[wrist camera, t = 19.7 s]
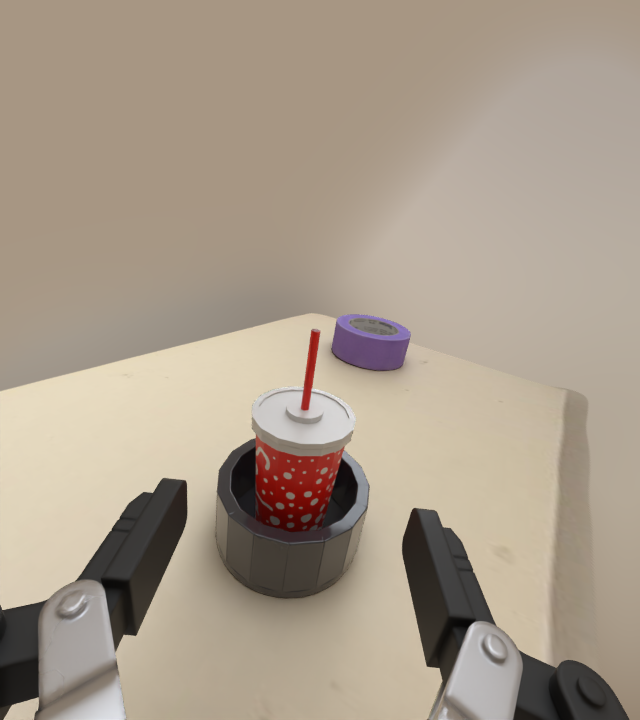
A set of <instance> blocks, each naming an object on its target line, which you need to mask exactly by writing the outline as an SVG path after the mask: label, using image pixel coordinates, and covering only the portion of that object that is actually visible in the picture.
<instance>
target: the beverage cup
mask: <svg viewBox="0 0 640 720" xmlns="http://www.w3.org/2000/svg"><path fill="white" fill-rule="evenodd" d="M319 337H320V330H318V329H312V330H311V337H310V345H309V352H308V359H307V367H306V374H305V381H304V387H284V388H278V389H273V390H271V391H268V392H266V393H264V394H262V395H260V396H259V397H258V398H257V400H256V401H255V402H254V403H253V405H252V429H253V430H254V432H255V433H256V502H255V519H256V520H257V521H258V522H260V523H261V524H264V525H268V526H271V527H275V528H278V529H282V530H286V531H289V532H296V531H311V530H320V529H322V526H323V522H324V518H325V515H326V511H327V508H328V504H329V501H330V497H331V493H332V490H333V486H334V483H335V479H336V476H337V472H338V468H339V465H340V461H341V458H342V454H343V451H344V447H345V445H346V444H348V443H349V442H350V441H351V437H352V434H353V430H354V426H355V422H356V417H355V415H354V413H353V411H352V408H351V407H350V406H349V405H347V404H346V403H345V402H344V401H343V400H342V399H340V398H338V397H336V396H334V395H332V394H330V393H328V392H325V391H322V390H317V389H313V388H312V385H313V378H314V371H315V364H316V357H317V351H318V344H319Z"/></svg>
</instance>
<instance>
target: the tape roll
mask: <svg viewBox="0 0 640 720" xmlns="http://www.w3.org/2000/svg"><path fill="white" fill-rule="evenodd" d="M410 336H411V334H410V331H408V329H406V328H405V327H403V326H402V325H399V324H397V323H395V322H392V321H389V320H386V319H383V318H379V317H374V316H368V315H357V314H351V315H343V316H340V317H339V318H338V319H337V322H336V327H335V333H334V338H333V344H332V351H333V353H334V354H335V355H336V356H337V357H338V358H340V359H341V360H343V361H345V362H347V363H350V364H352V365H355V366H358V367H362V368H366V369H372V370H393V369H397V368H399V367H401V366H402V365H403V362H404V359H405V355H406V351H407V348H408V344H409V340H410Z"/></svg>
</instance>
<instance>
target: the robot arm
mask: <svg viewBox="0 0 640 720" xmlns="http://www.w3.org/2000/svg"><path fill="white" fill-rule="evenodd" d="M186 520H187V483H186V481H185V480H177V479H168V478H163V479H162V480H161V481H160V483H159V484H158V486H157V487H156V489H155V491H154V492H153V493H147V492H143V493H142V494H140V495H139V496H138V497H137V498H135V499H134V500H133V501H131V502H130V503H129V504H128V506H127V507H126V509H125V510H124V512H123V513H122V515H121V516H120V519H119V520H118V521H117V522H116V523H115V525H114V526H113V528H112V531H110V532H109V534H108V535H107V537H106V538H105V540H104V541H103V543H102V544H101V546H100V547H99V549H98V550H97V551H96V553H95V554H94V556H93V557H92V559H91V560H90V562H89V563H88V565H87V566H86V568H85V569H84V571H83V572H82V574H81V575H80V576H79V578H78V579H77V580H76V581H75V582H73V583H70V584H68V585H66V586H64V587H63V588H61V589H60V590H58V591H57V592H56V593H54V594H53V595H52V596H51V597H50V598H49V599H48V600H46V601H43V602H39V603H35V604H30V605H25V606H21V607H16V608H11V609H6V610H2V608H1V605H0V720H3V719H4V717H5V716H6V714H7V712H8V711H9V709H10V707H11V705H13V704H16V703H20V702H23V701H27V700H30V699H34V698H37V697H39V708H38V711H36V713H35V718H34V720H126V714H125V708H124V702H123V696H122V690H121V684H120V678H119V672H118V666H117V661H116V655H115V652H116V650H117V648H118V645H119V643H120V641H121V639H122V637H123V635H134V636H136V635H137V633H138V630H139V628H140V626H141V624H142V622H143V619H144V617H145V615H146V613H147V610H148V608H149V606H150V604H151V602H152V599H153V597H154V595H155V593H156V590H157V588H158V586H159V584H160V582H161V579H162V577H163V575H164V573H165V571H166V568H167V566H168V564H169V562H170V559H171V557H172V555H173V553H174V551H175V548H176V546H177V544H178V542H179V540H180V537H181V535H182V533H183V530H184V527H185V524H186ZM402 554H403V560H404V564H405V569H406V573H407V578H408V583H409V587H410V592H411V596H412V601H413V605H414V610H415V615H416V619H417V624H418V628H419V633H420V637H421V642H422V646H423V651H424V656H425V660H426V665H427V667H435V668H440V672H441V676H442V680H443V681H442V683H441V685H440V688H439V691H438V693H437V696H436V699H435V701H434V704H433V707H432V709H431V712H430V715H429V717H428V720H629V718H628V716H627V714H626V712H625V711H624V709H623V707H622V705H621V704H620V702H619V700H618V698H617V696H616V695H615V693H614V692H613V690H612V689H611V688H610V686H609V685H608V684H607V683H606V682H605V681H604V680H603V679H602V678H601V677H600V676H599V675H598V674H597V673H596V672H595V671H593V670H592V669H591V668H589V667H588V666H586V665H584V664H582V663H580V662H577V661H573V660H566V661H563V662H561V663H560V665H559V666H558V667H557V668H555V667H553V666H550V665H548V664H546V663H544V662H542V661H539V660H537V659H535V658H533V657H530V656H528V655H526V654H524V653H523V652H521V651H520V650H518V648H517V647H516V645H515V644H514V642H513V641H512V639H511V638H510V637H509V636H508V635H507V634H506V633H505V632H504V631H503V630H501V629H500V628H499V627H497V626H496V624H495V622H494V620H493V617H492V615H491V612H490V610H489V607H488V605H487V603H486V600H485V598H484V595H483V593H482V590H481V588H480V585H479V583H478V580H477V578H476V576H475V573H473V568H472V566H471V563H470V561H469V560H468V556H467V554H466V551H465V549H464V546H463V544H462V542H461V540H460V539H459V538H458V537H457V535H456V534H455V533H454V532H453V531H452V529H451V528H444V527H442V524H441V521H440V519H439V516H438V514H437V512H436V511H435V510H427V509H418V508H413V510H412V512H411V515H410V518H409V521H408V524H407V528H406V531H405V534H404V537H403V543H402Z"/></svg>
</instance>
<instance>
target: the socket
mask: <svg viewBox="0 0 640 720" xmlns="http://www.w3.org/2000/svg"><path fill="white" fill-rule="evenodd" d="M368 499H369V483H368V481H367V479H366V476H365V474H364V472H363V470H362V467H361V466H360V465H359V464H358V463H357V462H356V461H355V460H354V459H353V458H352V457H351V456H350V455H349V454H348V453H347V452H346V451H343V454H342V458H341V461H340V465H339V468H338V472H337V476H336V479H335V483H334V486H333V490H332V493H331V497H330V501H329V504H328V508H327V511H326V515H325V518H324V522H323V526H322V529H320V530H311V531H296V532H289V531H286V530H282V529H278V528H275V527H271V526H268V525H264V524H261V523H260V522H258V521H257V520H256V519H255V502H256V438H255V439H251V440H250V441H248V442H246V443H245V444H243V445H241V446H240V447H238V448H237V449H235V450H233V451H232V452H231V454H230V455H229V456H228V458H227V459H226V461H225V462H224V464H223V465H222V466H221V468H220V470H219V476H218V486H217V508H216V540H217V546H218V550H219V553H220V556H221V558H222V560H223V562H224V564H225V566H226V567H227V569H228V570H229V571H230V573H231V574H232V575H233V576H234V577H235V578H236V579H237V580H239V581H240V582H241V583H243V584H244V585H245V586H247V587H249V588H251V589H252V590H254V591H257V592H259V593H262V594H265V595H269V596H273V597H280V598H298V597H304V596H309V595H312V594H315V593H318V592H320V591H322V590H324V589H326V588H328V587H329V586H331V585H332V584H334V583H335V582H336V581H337V580H338V579H339V578H340V577H341V576H342V575H343V574H344V573H345V572H346V570H347V569H348V567H349V566H350V564H351V562H352V560H353V557H354V555H355V553H356V551H357V547H358V543H359V539H360V536H361V532H362V528H363V524H364V520H365V516H366V512H367V508H368Z"/></svg>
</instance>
